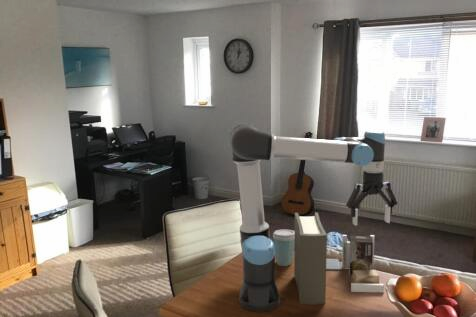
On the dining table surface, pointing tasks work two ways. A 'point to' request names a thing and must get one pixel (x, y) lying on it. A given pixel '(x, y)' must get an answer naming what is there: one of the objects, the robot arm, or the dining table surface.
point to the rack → (345, 264)
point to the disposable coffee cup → (284, 246)
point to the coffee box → (360, 253)
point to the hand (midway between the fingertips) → (371, 223)
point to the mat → (333, 264)
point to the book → (310, 259)
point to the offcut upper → (365, 276)
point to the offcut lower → (363, 282)
